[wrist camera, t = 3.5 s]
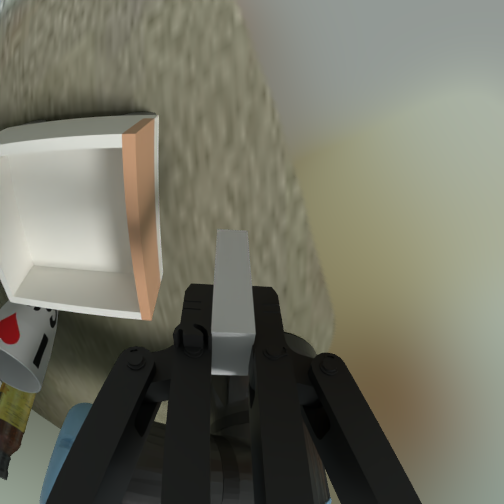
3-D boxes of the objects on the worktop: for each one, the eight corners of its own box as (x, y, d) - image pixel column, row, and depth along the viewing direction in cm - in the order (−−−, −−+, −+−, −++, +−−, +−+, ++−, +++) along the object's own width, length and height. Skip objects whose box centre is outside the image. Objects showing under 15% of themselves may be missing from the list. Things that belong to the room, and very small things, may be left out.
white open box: (166, 109, 19) (135, 133, 13) (167, 255, 26) (151, 320, 20) (24, 120, 18) (-36, 151, 12) (46, 248, 25) (10, 301, 19)
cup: (81, 307, 30) (51, 382, 22) (54, 334, 32) (29, 399, 24) (25, 260, 26) (-20, 330, 18) (5, 295, 29) (-30, 357, 20)
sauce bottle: (7, 357, 36) (-29, 460, 20) (39, 373, 38) (7, 480, 22) (12, 375, 39) (-19, 468, 23) (41, 389, 41) (15, 485, 25)
